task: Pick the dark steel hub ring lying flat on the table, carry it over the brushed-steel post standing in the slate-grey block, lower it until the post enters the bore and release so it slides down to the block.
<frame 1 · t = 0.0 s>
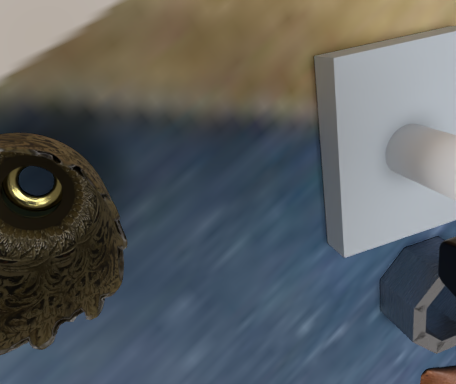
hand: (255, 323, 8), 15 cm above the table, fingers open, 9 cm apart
cup: (37, 178, 20), on the table
hub ring: (420, 280, 31), on the table
shaft block: (385, 140, 26), on the table
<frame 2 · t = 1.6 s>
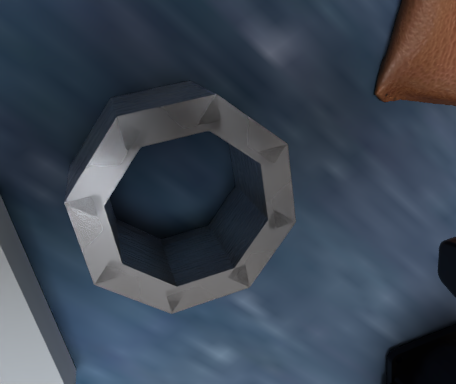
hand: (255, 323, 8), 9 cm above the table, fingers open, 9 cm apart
hub ring: (172, 177, 16), on the table
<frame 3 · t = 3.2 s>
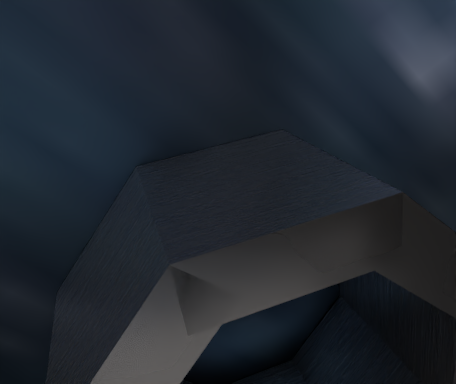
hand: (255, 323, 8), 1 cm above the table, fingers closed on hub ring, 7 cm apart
hub ring: (239, 294, 9), on the table, touching gripper
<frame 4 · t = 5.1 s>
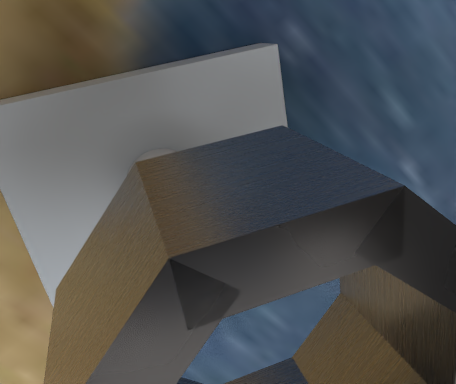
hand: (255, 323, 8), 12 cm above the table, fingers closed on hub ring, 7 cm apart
hub ring: (239, 291, 9), point 11 cm above the table, touching gripper
shaft block: (155, 168, 19), on the table
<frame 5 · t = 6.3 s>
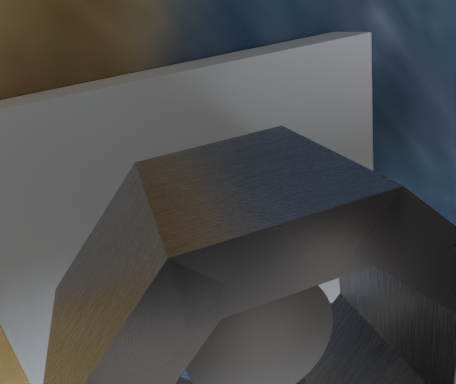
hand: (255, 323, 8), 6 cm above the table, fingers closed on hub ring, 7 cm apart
hub ring: (238, 291, 9), point 5 cm above the table, touching gripper
shaft block: (185, 203, 14), on the table
when the fingers open (6 cm above the table, at t = 7.1 s): hub ring drops 3 cm, resting on shaft block.
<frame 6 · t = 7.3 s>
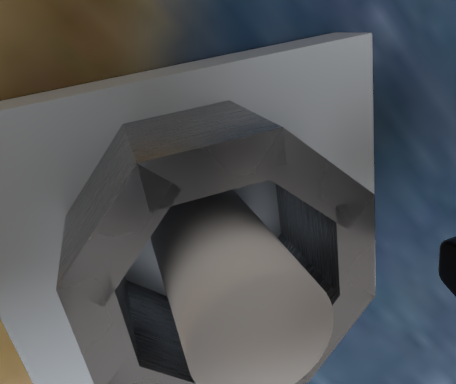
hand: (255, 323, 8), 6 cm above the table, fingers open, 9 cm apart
hub ring: (201, 226, 12), point 2 cm above the table, touching shaft block
shaft block: (186, 203, 14), on the table
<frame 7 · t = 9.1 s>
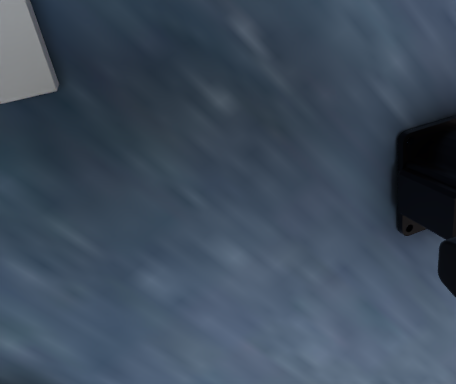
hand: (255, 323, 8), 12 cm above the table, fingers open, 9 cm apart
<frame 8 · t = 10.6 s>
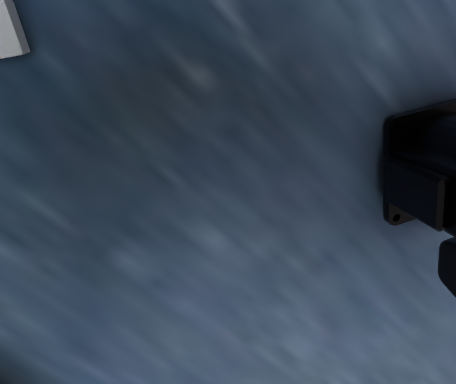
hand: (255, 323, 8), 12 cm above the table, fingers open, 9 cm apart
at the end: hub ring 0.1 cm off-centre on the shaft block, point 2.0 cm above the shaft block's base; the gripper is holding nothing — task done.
